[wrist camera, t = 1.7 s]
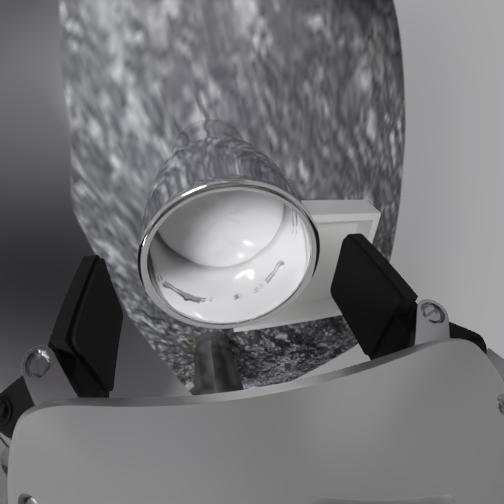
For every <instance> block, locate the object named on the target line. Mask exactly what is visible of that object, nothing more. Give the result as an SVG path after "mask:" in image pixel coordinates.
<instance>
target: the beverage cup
mask: <svg viewBox="0 0 504 504" xmlns="http://www.w3.org/2000/svg"><path fill="white" fill-rule="evenodd" d="M239 390H244V389H243V386H242V383H241V380H240V376H239V373H238V370H237V367H236V363H235V360H234V356H233V353H232V350H231V347H230V345H229V342H228V338H227V337H226V336H225V335H224V334H222V333H218V332H208V333H204V334H202V335H200V336H199V337H198V338H197V339H196V348H195V395H205V394H215V393H223V392H231V391H239Z"/></svg>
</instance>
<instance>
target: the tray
mask: <svg viewBox="0 0 504 504" xmlns="http://www.w3.org/2000/svg"><path fill="white" fill-rule="evenodd" d="M301 202H302V204H303V205H304V207H305V208H306V209H307V210H308V212H309V213H310V215H311V216H312V218H313V220H314V222H315V224H316V227H317V230H318V234H319V239H320V255H319V261H318V265H317V268H316V270H315V273H314V275H313V277H312V279H311V281H310V283H309V284H308V286H307V287H306V288H305V290H304V291H303V292H302V293H301V294H300V296H299V297H298V298H297V299H296V300H295V301H293V302H292V303H291V304H290V305H289V306H287V307H286V308H285V309H283V310H282V311H280V312H279V313H277V314H275V315H273V316H271V317H269V318H267V319H265V320H263V321H260V322H257V323H254V324H251V325H247V326H243V327H237V328H233V329H234V332H238V331H246V330H254V329H261V328H268V327H275V326H282V325H288V324H294V323H300V322H306V321H312V320H318V319H323V318H328V317H333V316H338V315H342V313H341V311H340V309H339V308H338V306H337V304H336V303H335V301H334V299H333V298H332V296H331V292H330V288H331V284H332V280H333V277H334V273H335V269H336V265H337V261H338V257H339V253H340V249H341V245H342V241H343V239H344V238H346V236H347V235H348V234H356V233H361V234H363V235H364V236H365V237H366V238H367V239H368V241H369V242H370V243H371V244H372V242H373V239H374V236H375V232H376V229H377V226H378V222H379V219H380V215H381V213H380V212H379V211H378V210H377V209H376V208H375V207H374V206H372V205H371V204H370V203H369V202H368V201H367V200H301Z"/></svg>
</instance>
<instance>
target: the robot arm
mask: <svg viewBox="0 0 504 504" xmlns="http://www.w3.org/2000/svg"><path fill="white" fill-rule="evenodd" d="M330 292H331V296H332V298H333V299H334V301H335V303H336V304H337V306H338V308H339V309H340V311H341V313H342V315H343V316H344V318H345V320H346V322H347V323H348V325H349V327H350V329H351V330H352V332H353V334H354V336H355V337H356V339H357V341H358V343H359V345H360V346H361V348H362V350H363V352H364V353H365V354H366V355H368V356H369V357H370V359H371V361H368V362H364V363H361V364H358V365H354V366H351V367H348V368H344V369H340V370H337V371H333V372H329V373H325V374H321V375H318V376H313V377H309V378H305V379H300V380H296V381H291V382H286V383H281V384H276V385H270V386H264V387H259V388H252V389H246V390H239V391H231V392H223V393H215V394H205V395H194V396H180V397H160V398H109V391H112V390H113V387H114V377H115V368H116V360H117V352H118V345H119V338H120V332H121V326H122V320H123V313H122V309H121V306H120V303H119V301H118V298H117V295H116V293H115V290H114V287H113V284H112V282H111V279H110V276H109V273H108V270H107V267H106V264H105V261H104V259H103V258H101V259H100V257H99V256H98V255H93V256H84V257H83V259H82V261H81V263H80V265H79V267H78V270H77V272H76V274H75V276H74V278H73V281H72V283H71V285H70V287H69V290H68V292H67V295H66V297H65V300H64V302H63V305H62V307H61V310H60V312H59V315H58V318H57V321H56V323H55V326H54V329H53V332H52V335H51V338H50V341H49V344H48V347H47V346H43V345H41V346H36V347H35V348H32V349H31V350H30V351H29V352H28V353H27V354H26V355H25V357H24V359H23V361H22V368H21V369H22V374H23V375H22V376H21V377H20V378H19V379H17V380H16V381H15V382H14V383H12V384H11V385H10V386H9V387H8V388H7V389H5V390H4V391H3V392H2V393H0V504H504V359H503V358H501V357H500V356H499V355H497V354H496V353H495V352H493V351H492V350H491V349H489V348H488V349H487V348H486V344H485V342H484V340H483V338H482V337H481V336H480V335H479V334H477V333H475V332H473V331H471V330H468V329H466V328H463V327H460V326H458V325H456V324H453V323H451V322H449V319H448V314H447V312H446V310H445V309H444V308H443V307H442V306H441V305H440V304H439V303H437V302H435V301H432V300H422V301H420V302H419V303H418V304H417V303H416V302H415V301H416V299H417V297H418V296H417V295H416V293H415V292H414V291H413V290H412V289H411V287H410V286H409V285H408V284H407V283H406V282H405V280H404V279H403V278H402V277H401V276H400V275H399V273H398V272H397V271H396V270H395V269H394V268H393V267H392V266H391V264H390V263H389V262H388V261H387V260H386V259H385V258H384V257H383V256H382V254H381V253H380V252H379V251H378V250H377V249H376V248H375V247H374V246H373V245H372V244H371V243H370V242H369V241H368V239H367V238H366V237H365V236H364V235H363V234H361V233H356V234H348V235H347V236H346V238H344V239H343V241H342V245H341V249H340V253H339V257H338V261H337V265H336V269H335V273H334V277H333V280H332V284H331V288H330Z"/></svg>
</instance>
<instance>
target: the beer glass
mask: <svg viewBox="0 0 504 504" xmlns="http://www.w3.org/2000/svg"><path fill="white" fill-rule="evenodd" d="M319 255H320V239H319V234H318V230H317V227H316V224H315V222H314V220H313V218H312V216H311V215H310V213H309V212H308V210H307V209H306V208H305V207H304V205H303V204H302V202H301V200H300V198H299V196H298V195H297V193H296V191H295V190H294V188H293V187H292V185H291V183H290V182H289V180H288V179H287V178H286V176H285V175H284V174H283V172H282V171H281V170H280V169H279V167H278V166H277V165H276V164H275V163H274V162H273V161H272V160H271V159H270V158H269V157H268V156H267V155H266V154H264V153H263V152H262V151H261V150H259V149H258V148H257V147H255V146H253V145H251V144H249V143H247V142H245V141H243V140H242V138H241V136H240V135H239V133H238V132H237V131H236V130H235V129H234V128H233V127H231V126H230V125H228V124H226V123H224V122H221V121H217V120H202V121H198V122H196V123H193V124H191V125H189V126H188V127H186V128H185V129H184V130H183V131H182V132H181V133H180V134H179V136H178V137H177V139H176V140H175V143H174V145H173V149H172V155H171V156H170V157H169V158H168V159H167V161H166V162H165V163H164V164H163V166H162V167H161V168H160V170H159V172H158V174H157V176H156V178H155V180H154V182H153V184H152V187H151V189H150V192H149V195H148V199H147V203H146V206H145V211H144V217H143V223H142V231H141V240H140V244H139V248H138V255H137V265H138V272H139V277H140V280H141V283H142V285H143V287H144V289H145V291H146V293H147V294H148V296H149V297H150V298H151V299H152V301H153V302H154V303H155V304H156V305H157V306H158V307H159V308H160V309H162V310H163V311H164V312H165V313H167V314H168V315H170V316H172V317H173V318H175V319H177V320H180V321H182V322H184V323H187V324H190V325H194V326H198V327H203V328H212V329H228V328H237V327H243V326H247V325H251V324H254V323H257V322H260V321H263V320H265V319H267V318H269V317H271V316H273V315H275V314H277V313H279V312H280V311H282V310H283V309H285V308H286V307H287V306H289V305H290V304H291V303H292V302H293V301H295V300H296V299H297V298H298V297H299V296H300V294H301V293H302V292H303V291H304V290H305V288H306V287H307V286H308V284H309V283H310V281H311V279H312V277H313V275H314V273H315V270H316V268H317V265H318V261H319Z"/></svg>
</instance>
